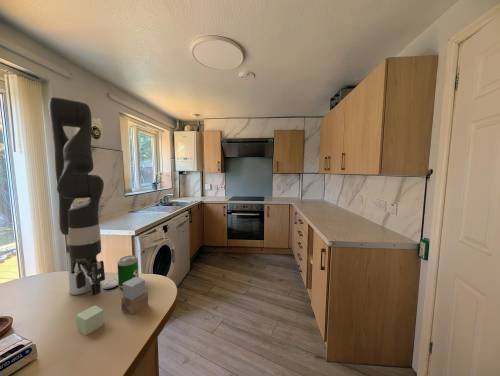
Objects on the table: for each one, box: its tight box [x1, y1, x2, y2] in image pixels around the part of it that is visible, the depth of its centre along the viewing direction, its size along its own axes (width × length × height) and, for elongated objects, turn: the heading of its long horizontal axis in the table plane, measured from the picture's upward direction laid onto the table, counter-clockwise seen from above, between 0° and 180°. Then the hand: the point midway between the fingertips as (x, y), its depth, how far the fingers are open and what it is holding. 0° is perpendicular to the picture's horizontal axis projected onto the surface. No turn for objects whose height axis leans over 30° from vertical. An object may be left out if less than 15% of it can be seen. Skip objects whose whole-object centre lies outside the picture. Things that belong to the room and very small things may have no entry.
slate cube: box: [122, 276, 146, 301], centre depth 71 cm, size 5×5×5 cm
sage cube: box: [75, 305, 105, 336], centre depth 62 cm, size 5×5×5 cm
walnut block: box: [120, 290, 149, 316], centre depth 71 cm, size 6×6×5 cm
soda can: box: [117, 255, 140, 289], centre depth 85 cm, size 8×8×12 cm
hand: (88, 290), depth 61 cm, fingers open, 8 cm apart
